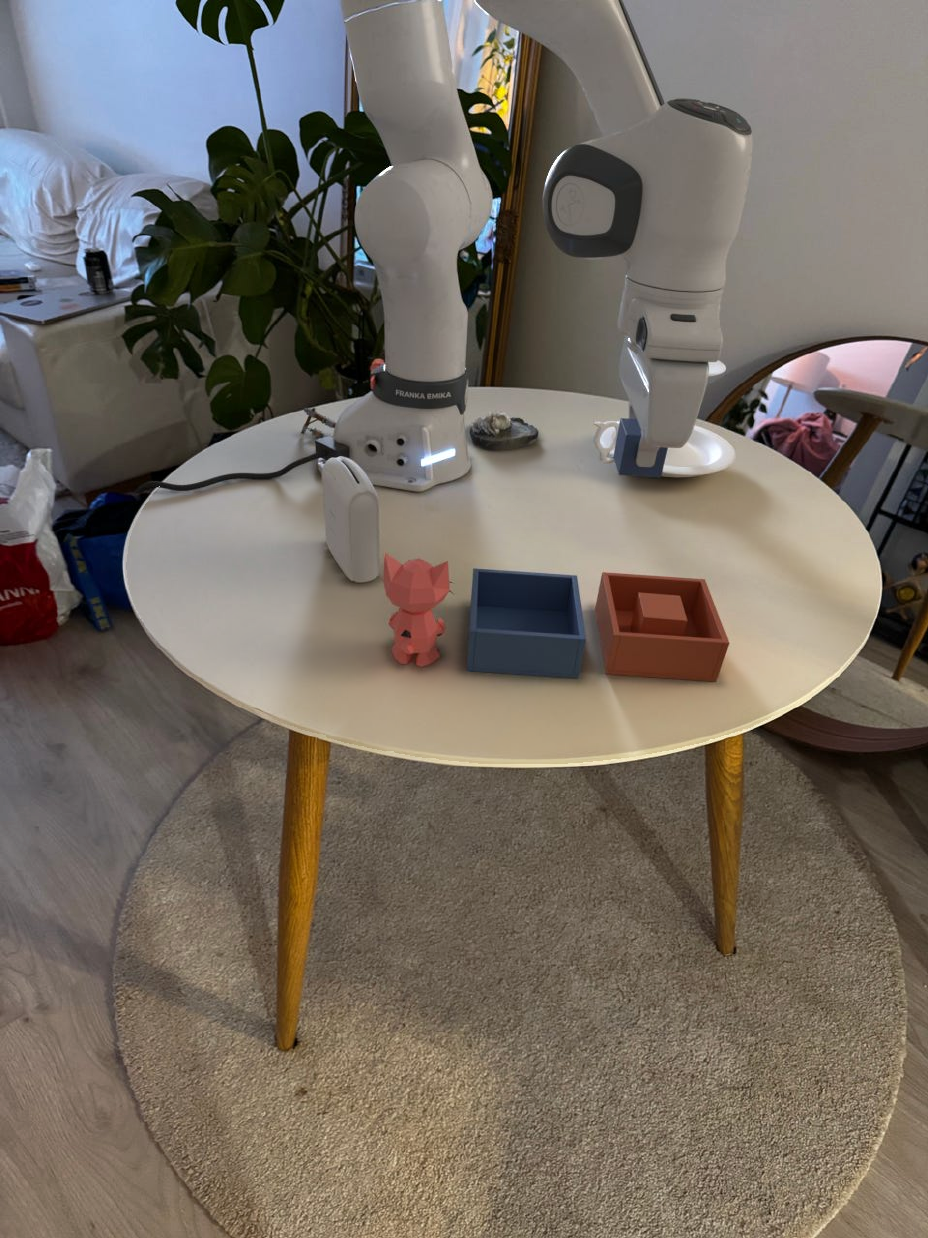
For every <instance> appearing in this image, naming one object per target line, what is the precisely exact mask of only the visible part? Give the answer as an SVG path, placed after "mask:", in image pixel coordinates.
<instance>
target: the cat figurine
mask: <svg viewBox="0 0 928 1238" xmlns="http://www.w3.org/2000/svg"><path fill="white" fill-rule="evenodd" d="M382 572H383V573H382V574H383V575H382V583H383V587H384V592H385V596H386V597H387V598H388V600H389V601H390V602H391V604H392V605H393V606H395V607H398V611H395V612H393V613H391V616H390V618H389V620H388V626H390V628H391V629H392V630H393V637H394V645H393V646H392V647H391V649H390V650H391V653H392V655H393V657H394V658H393V659H395V661H397V662H398V663H399V664H400V665H406V664H408V663H409V662H410V661H411V659H412V657H413V656H412V655H413V654H417V655H416V657H415V664H416V666H417V667H420V668H422V667H426V666H429V665H431V664H433V663H434V662H435V661H437V660H438V659H439V658H440V657H441V654H440V649H439V648H437V646H435V644H436V643H437V639H438V637H440V636H442V635H443V634H445V632H446V621H444V620H443V619H442V618H440V617H438V619H437V621H436V619H435V616H434V614H433V611H432V610H433V609H434V608H436V607H437V606H438V605H439V604H440V603H442V602H443V601H444V600H445V598H446V596H447V595H448V593H449V592H450V593H451V594H453V595H454V596H455V595H456V594H455V593H453V591H451V587H450V583H451V584H456V583H455V582H452V581H450V573H449V561H448V560H447V561H444V562H442V563H440V564H437V565H435V566H434V565H432V564H431V563H429V561H426V560H424V559H421V558H413V559H408V560H406V561H405V562H403V563H401V562H400V561H399V560H397V559H395V558H394V557H392V556H391V555H390V554H388V553H387V552H384V557H383V571H382Z"/></svg>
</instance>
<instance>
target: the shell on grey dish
mask: <svg viewBox="0 0 928 1238" xmlns="http://www.w3.org/2000/svg"><path fill="white" fill-rule="evenodd" d="M469 435H470V438H471V441H472V443H473V444H474V445H476V446H478V447H480V448H482V449H485V450H488V451H506V450H513V449H519V448H524V447H527V446H530V445H532V444H533V443H535V442H536V441H537V440H538V438H539V430H538V429H537V427H535V426H534V425H533V424H530V425H529V423H528V422H525V420H524V419H523V418H521V417H514V416H512V417H509V416H508V415H507V414H506V412H501V411H500V412H497V411H495V412H492V411H488V413H487V415H486V416H485V417H483V418H482V417H481V416H479V417H478V418H477V419H475V420H474V421H472V422H471V426H470V429H469Z"/></svg>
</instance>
